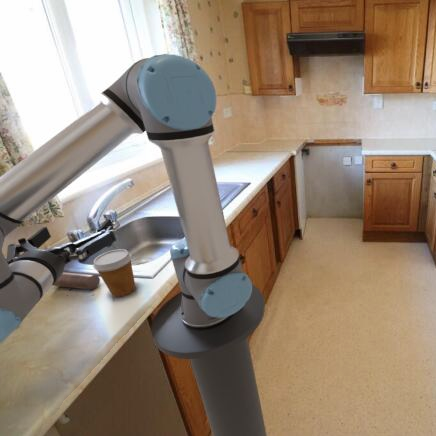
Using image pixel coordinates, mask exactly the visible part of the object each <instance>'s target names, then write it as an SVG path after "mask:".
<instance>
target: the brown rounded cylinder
mask: <svg viewBox="0 0 436 436" xmlns="http://www.w3.org/2000/svg"><path fill="white" fill-rule="evenodd" d="M100 278H101V277H99V275H97V274H90V273H79V272H78V273H77V272H64V271H63V273H62V275H61V276H60V278H59V279H58V280H57V281H56V282H55V283H54V285H53V286H54V287H60V288H72V289H80V290H81V289H83V290H95V289H97V288H98V287H99V285H100V282H101V279H100Z"/></svg>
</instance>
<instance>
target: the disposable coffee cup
mask: <svg viewBox="0 0 436 436" xmlns="http://www.w3.org/2000/svg"><path fill="white" fill-rule="evenodd" d="M92 267H93V269H94V270H95V271H97V273H98V274H99V276H100V278H101V279H102V280H103V282H104V284H105V286H106V287H107V289H108V291H109V293H110V294H111V295H112V297H115V298H120V297H124V296H127V295H130V294H131V293H133V292H134V291H135V289H136V281H135V276H134V271H133V265H132V254H131V253H130V252H129V251H128V250H127V249H125V248H120V249H112V250H108V251H106V252H103V253H101V254H99V255H97V256H96V257H95V258H94V259H93V264H92Z"/></svg>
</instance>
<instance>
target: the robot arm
mask: <svg viewBox="0 0 436 436" xmlns="http://www.w3.org/2000/svg"><path fill="white" fill-rule="evenodd" d="M99 95H100V96H99V97H100V99H99V100H100V101H99V102H98V103H96V105H94V106H93V107H91V108H90V109H89V110H87V111H86V112H85V113H83V114H82V115H81V116H79V117H78V118H76V120H74V121H73V122H71V123H70V124H68V125H67V126H66V127H65V128H64V129H62V130H61V131H59V132H58V133H57V134H56V135H54V136H52V137H51V138H49V140H48V141H46V142H45V143H44V144H42V145H41V146H39V147H38V148H37V149H35V150H34V151H33V152H32V153H30V154H29V155H28V156H26V157H25V158H23V159H22V160H21V161H19V162H18V163H16V164H15V165H14V166H12V167H11V168H10V169H9V170H8V171H6V172H5V173H3V174H2V175H1V176H0V344H2V343H3V342H4V341H6V339H7V338H8V337H10V335H11V334H12V333H13V332H14V331H16V330H17V329H18V328H19V327H20V326H21V324H22V323H23V321H24V320H25V319H26V317H27V316H28V315H29V313H30V312H31V311H32V310H33V308H35V306H36V305H37V304H38V303H39V302H40V301H41V299H42V298H44V296H45V295H46V293H47V292H48V291H49V290H50V289H52V288H51V287H53V286H54V283H55V282H56V281H57V280H58V279H59V278H60V276H61V275H62V273H63V272H64V270H65V266H66V265H67V264H69V263H71V262H72V261H74V260H78V262H79V263H85V262H86V261H87V260H89V258H90V257H91V256H93V255H95V254H98V252H100V251H102V250H103V249H105V248H106V247H108V246H109V245H111V244H113V243H115V242H117V237H116V234H115V231H114V226H113V223H112V220H111V218H106V219H105V220H104V221H103V222H102V223H101V225H100V226H99V227H98V228H97V230H96V232H95V233H92V234H91V235H88V236H85V237H83V238H81V239H78V240H76V241H74V242H70V241H69V242H65V243H63V244H61V245H58V246H53V247H49V248H44V249H39V248H41V247H42V246H43V245H44V244H45V243H46V242H47V241H48V240H50V238H52V235H51V233H50V231H49V228H48V227H47V226H43V227H41V228H40V229H38V231H36V232H35V233H34V234H32V235H31V236H30V237H28V238H27V239H26V238H25V237H21V238H19V239H17V242H18V243H19V244H16V243H10V244H7V250H6V257H5V255H4V253H3V246H4V243H5V238H6V237H7V236H9V234H11V233H12V232H13V231H14V230H16V229H17V228H18V227H19V226H20V225H22V224H23V223H24V222H26V221H27V220H28V219H29V218H30V217H31V216H33V215H34V214H35V213H36V212H38V211H39V210H40V209H41V208H42V207H44V206H45V205H46V204H47V203H49V202H50V201H51V200H53V199H54V198H55V197H56V196H58V194H60V193H61V192H62V191H63V190H65V189H67V187H68V186H70V185H71V184H72V183H74V182H75V181H76V180H77V179H79V178H80V177H81V176H82V175H84V174H85V173H86V172H87V171H89V170H90V169H91V168H92V167H94V166H95V165H96V164H97V163H99V161H101V160H102V159H104V158H105V157H106V156H107V155H108V154H110V153H111V152H112V151H113V150H115V149H116V148H117V147H118V146H120V145H122V143H123V142H124V141H126V140H127V139H128V138H130V137H131V136H132V135H134V134H137V135H139V134H140V135H142V134H143V133H146V136H147V139H148V141H149V142H150V143H152V144H153V145H155V146H156V147H158V148H159V149H160V152H161V157H162V159H163V162H164V167H165V170H166V173H167V179H168V181H169V185H170V188H171V192H172V195H173V199H174V203H175V207H176V211H177V213H178V217H179V221H180V224H181V228H182V231H183V235H184V238H181V239H179V240H178V241H176V242H175V243H174V244H172V245H171V247H170V249H169V254H170V260H171V261H172V265H173V268H174V272H175V275H176V278H177V281H178V285H179V289H180V292H181V293H182V301H181V310H180V316H181V319H182V322H183V324H184V325H185V326H186V327H188V328H191V329H195V330H204V329H210V328H213V327H216V326H218V325H221V324H222V323H224V322H226V321H227V320H228V319H230V318H231V317H232V316H233V314H234V313H236V312H237V311H239V310H240V309H241V308H242V307H243V306H244V305H245V303H246V302H247V301H248V300H249V298H250V296H251V293H252V284H253V282H252V281H251V279H250V277H249V276H248V274H247V273H245V272H244V271H243V266H242V262H241V258H240V252H239V250H238V249H237V248H236V247H235V246H232V245H231V243H230V240H229V234H228V230H227V229H228V228H227V224H226V220H225V215H224V211H223V205H222V201H221V195H220V192H219V191H220V190H219V187H218V186H219V185H218V182H217V177H216V172H215V168H214V163H213V159H212V154H211V153H212V152H211V149H210V144H209V141H210V140H211V138H212V137H213V136H214V134H215V128H214V122H213V115H214V113H215V111H216V107H217V92H216V89H215V85H214V83H213V81H212V79H211V77H210V76H209V74H208V73H207V71H205V69H204V68H203V67H201V66H200V65H199V64H198V63H197V62H195V61H193V60H192V59H189V58H188V57H185V56H182V55H177V54H169V53H162V54H155V55H153V56H150V57H146V58H142V59H139V60H137V61H136V62H134V63H133V64H131V66H129V67H128V69H126V70H125V72H123V73H122V75H121V76H120V77H118V79H116V80H115V81H114V82H113V83H112V84H111V85H109V86H108V87H107V88H106V89H105V90H104V91H101V92H100V93H99Z"/></svg>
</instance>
